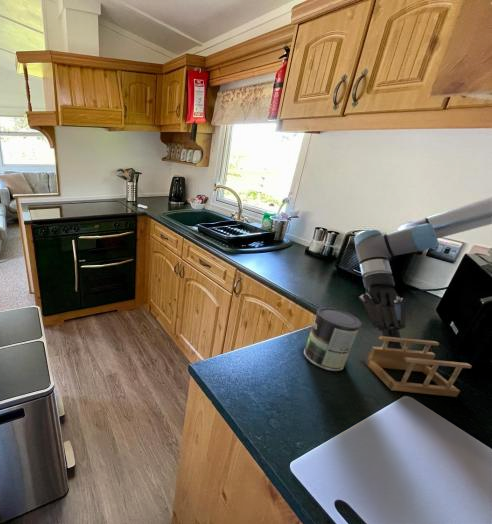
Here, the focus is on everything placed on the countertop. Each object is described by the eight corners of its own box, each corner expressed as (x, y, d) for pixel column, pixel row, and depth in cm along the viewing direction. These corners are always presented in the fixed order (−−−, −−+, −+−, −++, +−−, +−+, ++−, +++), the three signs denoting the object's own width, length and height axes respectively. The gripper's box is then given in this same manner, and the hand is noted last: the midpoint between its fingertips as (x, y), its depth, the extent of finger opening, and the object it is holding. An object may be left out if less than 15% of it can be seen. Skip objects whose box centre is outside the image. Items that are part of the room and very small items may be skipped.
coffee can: (299, 359, 82) (313, 316, 77) (307, 343, 90) (320, 303, 85) (342, 377, 76) (360, 332, 71) (346, 358, 84) (363, 316, 79)
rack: (365, 363, 82) (377, 335, 79) (422, 369, 82) (437, 341, 78) (391, 390, 73) (406, 359, 70) (456, 397, 72) (474, 366, 69)
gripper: (388, 282, 95) (408, 357, 85) (348, 278, 95) (362, 352, 86) (408, 273, 88) (431, 354, 78) (364, 269, 88) (382, 349, 79)
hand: (395, 353), depth 82 cm, fingers closed
